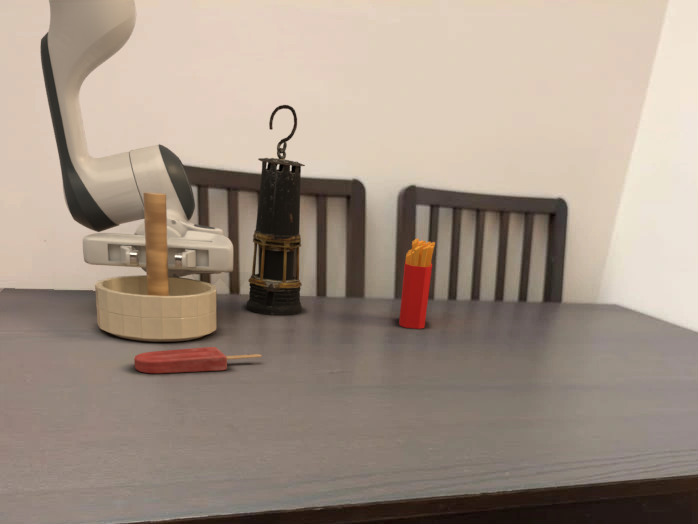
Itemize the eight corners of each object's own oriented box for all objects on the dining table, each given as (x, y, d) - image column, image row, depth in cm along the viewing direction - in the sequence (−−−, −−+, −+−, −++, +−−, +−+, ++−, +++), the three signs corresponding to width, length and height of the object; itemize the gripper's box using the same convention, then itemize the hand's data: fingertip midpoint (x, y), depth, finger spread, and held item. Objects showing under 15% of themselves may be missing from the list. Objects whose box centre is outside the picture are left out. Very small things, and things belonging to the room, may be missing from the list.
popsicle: (267, 353, 86) (138, 361, 80) (267, 367, 87) (139, 376, 81) (254, 343, 90) (130, 351, 83) (254, 357, 91) (131, 365, 84)
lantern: (268, 316, 113) (274, 101, 101) (234, 305, 119) (236, 100, 107) (312, 312, 119) (323, 108, 107) (278, 301, 125) (285, 106, 113)
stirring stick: (136, 323, 100) (130, 191, 93) (164, 320, 103) (161, 192, 96) (153, 330, 97) (148, 194, 90) (181, 327, 100) (179, 195, 93)
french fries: (398, 317, 121) (407, 235, 116) (424, 319, 121) (433, 238, 116) (398, 328, 113) (407, 241, 108) (426, 331, 113) (436, 244, 108)
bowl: (78, 323, 100) (74, 278, 98) (177, 313, 110) (177, 273, 108) (135, 349, 90) (133, 300, 88) (238, 336, 100) (239, 292, 98)
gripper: (89, 219, 105) (70, 229, 92) (233, 229, 109) (233, 240, 96) (92, 264, 107) (74, 280, 95) (232, 272, 111) (233, 289, 99)
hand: (156, 260), depth 96 cm, fingers open, 5 cm apart
